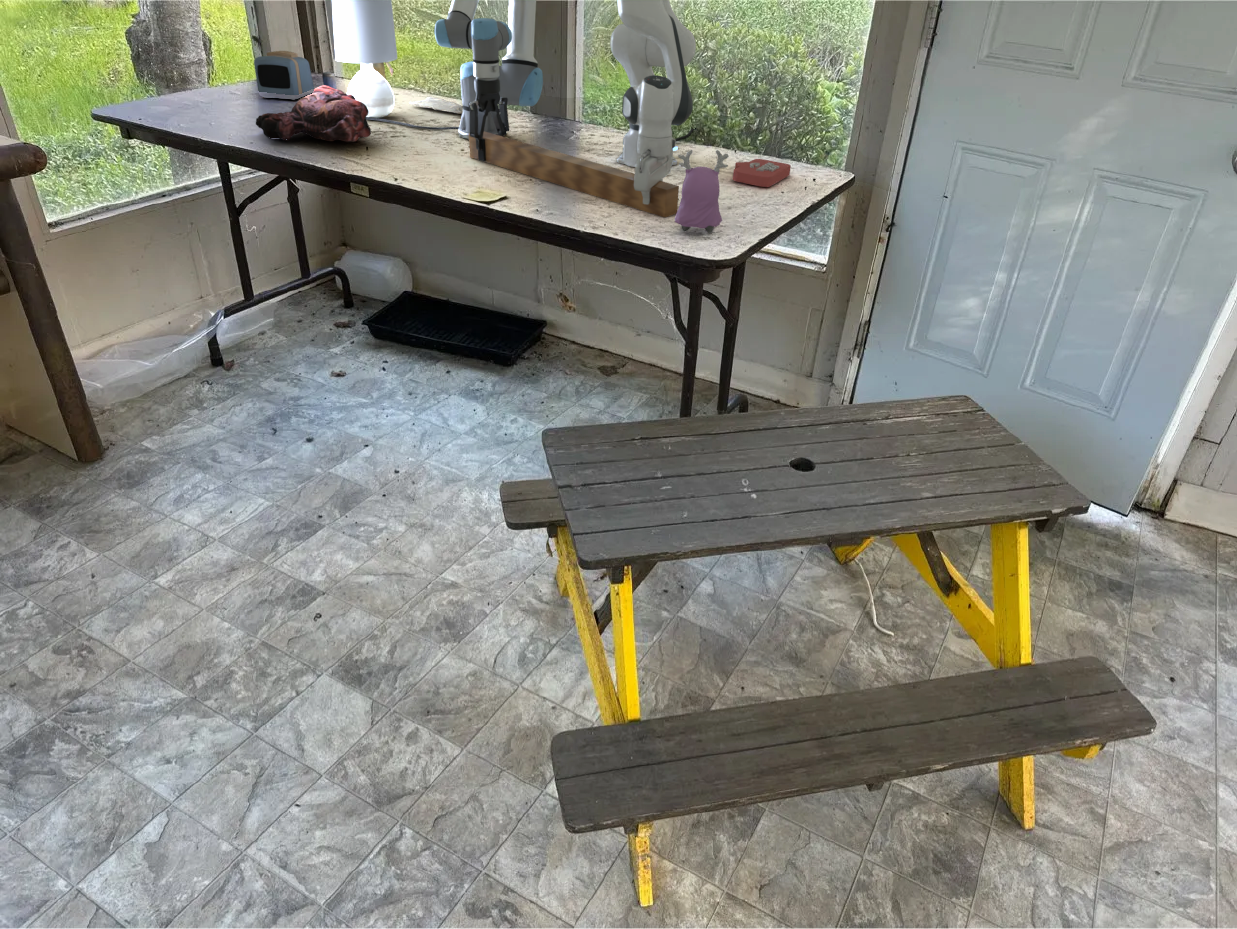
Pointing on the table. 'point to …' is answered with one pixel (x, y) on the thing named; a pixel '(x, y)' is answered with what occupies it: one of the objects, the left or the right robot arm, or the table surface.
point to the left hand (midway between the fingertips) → (491, 158)
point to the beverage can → (329, 79)
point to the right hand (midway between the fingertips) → (651, 199)
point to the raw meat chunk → (320, 117)
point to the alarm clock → (283, 73)
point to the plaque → (760, 172)
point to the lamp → (364, 48)
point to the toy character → (700, 195)
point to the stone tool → (439, 105)
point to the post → (576, 174)
